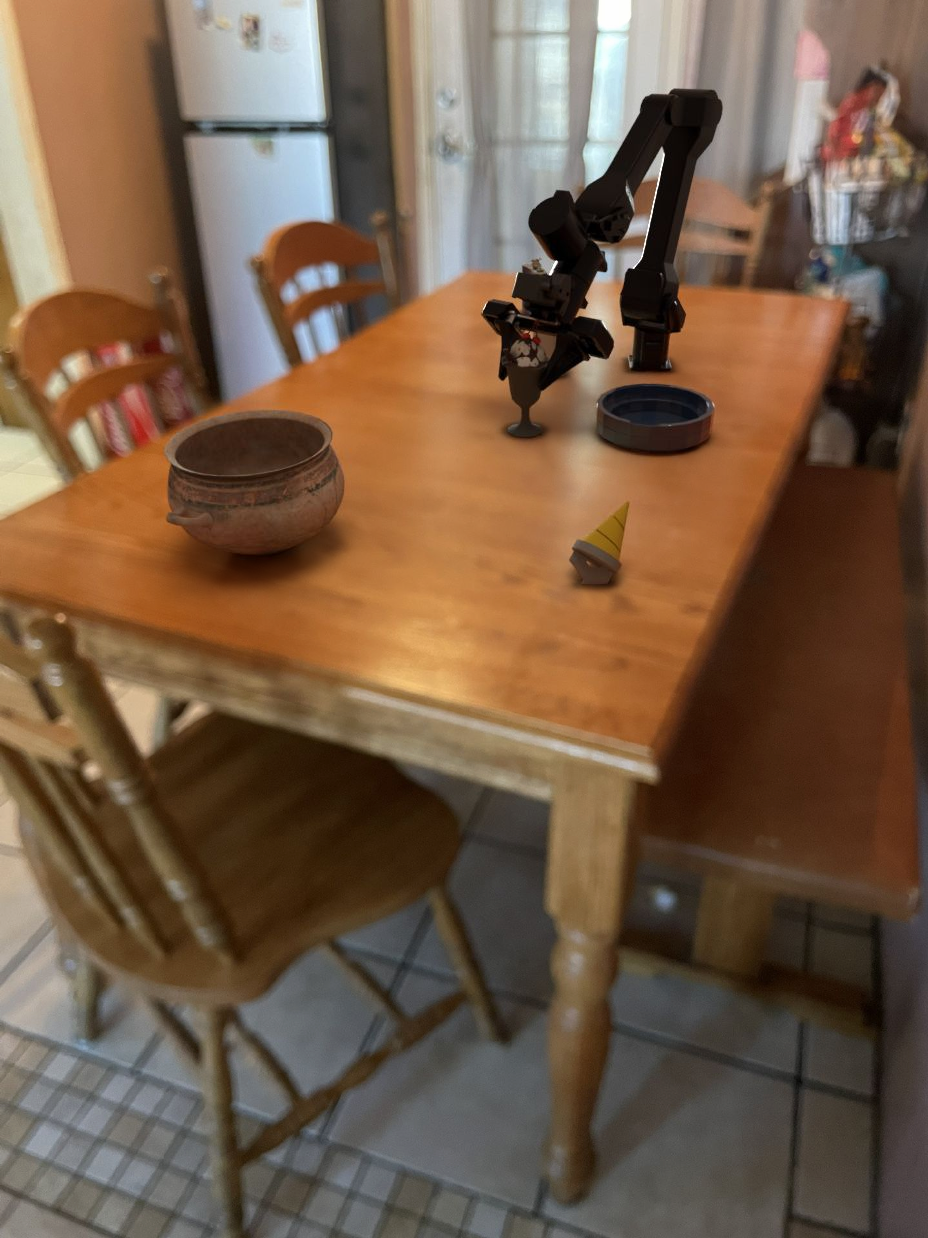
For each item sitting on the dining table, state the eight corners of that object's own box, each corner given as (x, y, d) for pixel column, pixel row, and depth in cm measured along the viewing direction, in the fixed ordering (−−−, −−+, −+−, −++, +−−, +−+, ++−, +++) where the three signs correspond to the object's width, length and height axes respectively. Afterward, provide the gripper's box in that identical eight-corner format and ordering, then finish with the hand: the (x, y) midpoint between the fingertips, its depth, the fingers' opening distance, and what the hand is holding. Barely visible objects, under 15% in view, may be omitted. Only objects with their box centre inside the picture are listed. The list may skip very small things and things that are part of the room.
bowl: (593, 411, 133) (594, 383, 131) (702, 411, 132) (705, 383, 129) (597, 455, 120) (599, 425, 118) (718, 456, 119) (722, 426, 117)
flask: (519, 311, 176) (520, 253, 170) (533, 309, 177) (534, 251, 171) (536, 324, 169) (537, 264, 163) (551, 323, 169) (553, 262, 163)
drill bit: (555, 573, 97) (602, 492, 97) (599, 599, 97) (646, 517, 97) (560, 568, 91) (610, 483, 92) (606, 595, 91) (656, 509, 92)
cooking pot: (258, 618, 90) (238, 507, 84) (123, 572, 98) (94, 468, 92) (396, 513, 108) (389, 415, 101) (272, 481, 116) (258, 388, 109)
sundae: (554, 423, 129) (557, 316, 121) (541, 442, 124) (544, 331, 116) (509, 419, 131) (509, 313, 123) (495, 437, 126) (494, 327, 118)
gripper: (488, 236, 122) (438, 340, 121) (608, 254, 112) (553, 367, 111) (523, 284, 131) (476, 381, 130) (636, 305, 121) (586, 409, 120)
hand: (519, 384), depth 123 cm, fingers closed on sundae, 6 cm apart
